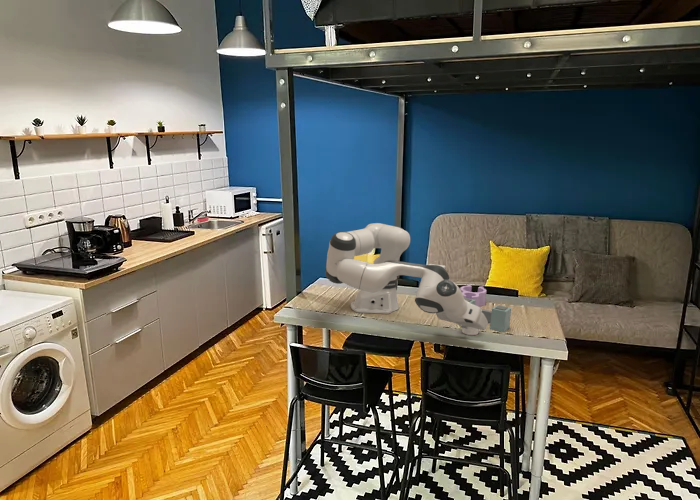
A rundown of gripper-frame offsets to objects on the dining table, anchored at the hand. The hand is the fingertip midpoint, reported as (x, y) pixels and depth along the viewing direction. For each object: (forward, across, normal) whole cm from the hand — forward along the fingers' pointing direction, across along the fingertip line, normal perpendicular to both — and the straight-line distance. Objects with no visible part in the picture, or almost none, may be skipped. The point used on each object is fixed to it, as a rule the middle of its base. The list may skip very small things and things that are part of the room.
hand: (465, 326), depth 201 cm
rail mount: (+17, 0, +11) cm, 20 cm away
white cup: (+7, 0, +1) cm, 8 cm away
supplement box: (+34, -36, +28) cm, 57 cm away
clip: (+32, -15, +26) cm, 44 cm away
